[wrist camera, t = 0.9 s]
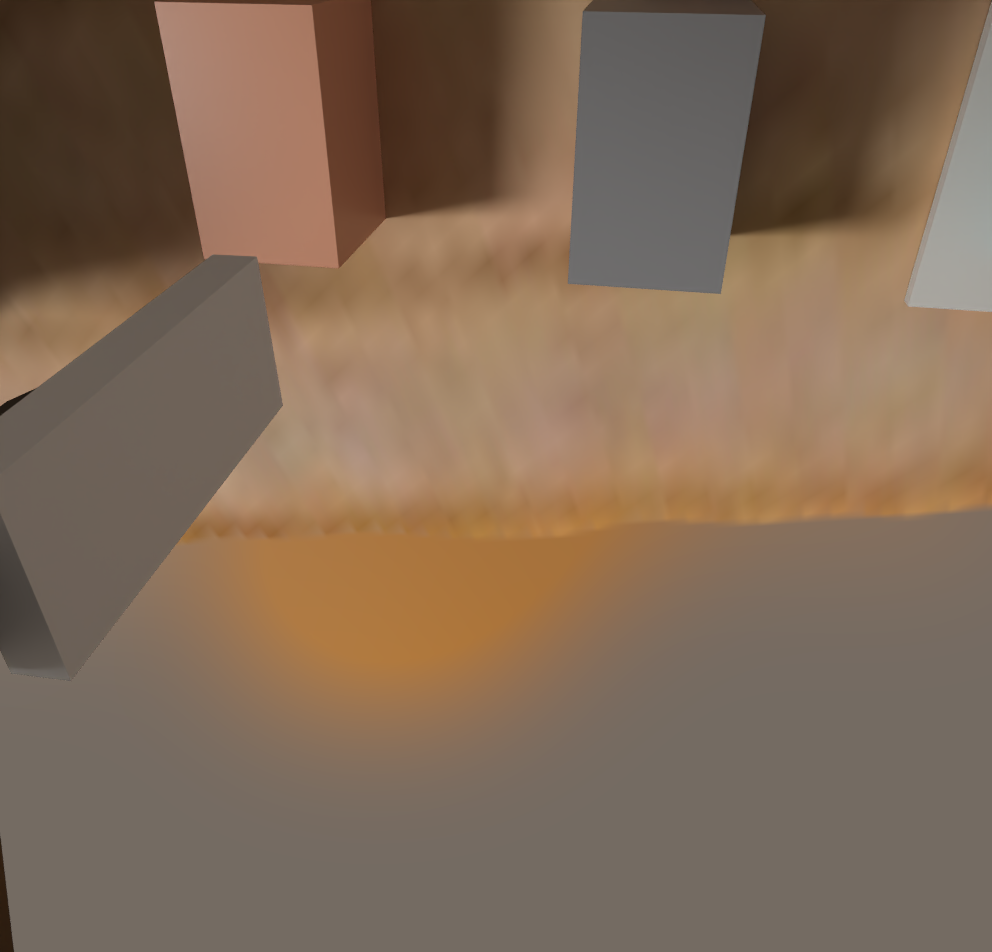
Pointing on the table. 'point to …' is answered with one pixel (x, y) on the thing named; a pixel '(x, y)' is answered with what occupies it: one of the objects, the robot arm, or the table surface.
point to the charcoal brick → (660, 140)
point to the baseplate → (962, 205)
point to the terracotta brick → (277, 125)
